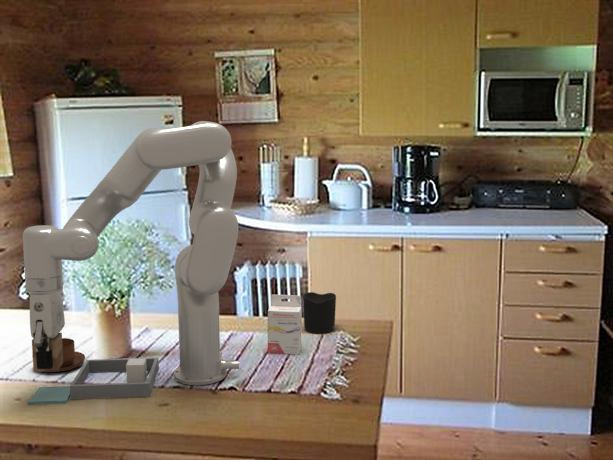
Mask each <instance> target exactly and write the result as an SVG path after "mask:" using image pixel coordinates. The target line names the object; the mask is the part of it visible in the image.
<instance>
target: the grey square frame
mask: <svg viewBox="0 0 613 460" xmlns="http://www.w3.org/2000/svg"><path fill="white" fill-rule="evenodd" d="M129 359H146V366H147V372H149V374H148V375H147V380H146V382H139V383H127V382H121V383H120V382H118V383H91V384H90V383H88V384H87V383H86V384H85V381H86V379H87V377H88V376H89V374H90V373H92V374H93V373H95V374H96V373H115V372H116V373H117V372H122V373H124V372H125V373H126V364H127V362H128V360H129ZM159 361H160V359H159V357H132V358H107V359H106V358H104V359H103V358H101V359H98V358H97V359H85V360H84V362H83V363H82V366H81V368H80V369H79V371H78V372H77V374H76V376H75V377H74V378H73V381H71V384H70V385H69V386H70V400H82V399H83V400H84V399H89V400H90V399H110V398H111V399H113V398H114V399H115V398H116V399H117V398H137V397H138V398H139V397H140V398H141V397H151V394H152V392H153V389H154V385H155V383H156V379H157V376H158V374H159V373H158V372H159V370H160V366H159V363H160V362H159Z"/></svg>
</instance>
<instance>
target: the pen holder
mask: <svg viewBox="0 0 613 460" xmlns="http://www.w3.org/2000/svg"><path fill="white" fill-rule="evenodd" d="M302 300H303V301H302V303H303V307H302V308H303V325H304V326H303V327H304V330H305V332H308V333H312V334H318V335H321V334H329V333H331V332H333V331H334V329H335V322H336V308H337V307H336V305H337V294H335V293H333V292H327V293H322V294H321V293H317V292H311V291H310V292H305V293H304V294H303V295H302Z"/></svg>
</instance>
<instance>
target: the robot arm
mask: <svg viewBox="0 0 613 460" xmlns="http://www.w3.org/2000/svg"><path fill="white" fill-rule="evenodd" d="M193 166H198V167H199V175H198V176H199V177H198V182H197V187H196V191H195V196H194V200H193V204H192V207H191V210H190V214H189V218H188V227H189V229H190V232H191V233H192V235H193V239H192V244H189V245H187V246H185V247H184V248H183V249H181V251H179V253H178V255H177V257H176V259H175V262H174V263H175V264H174V274H175V276H174V277H175V285H176V286H175V287H176V292H177V294H176V295H177V312H178V313H177V317H178V318H177V319H178V321H177V322H178V344H179V345H178V346H179V349H178V350H179V366H178V367H176V368H175V369H174V370H173V378H174V380H175V381H176V382H178V383H180V384H184V385H188V386H204V385H211V384H214V383H218V382H220V381H222V380H223V379H225V378H226V377H227V375H228V370H240V360H235V358H234V357H233V358H225V357H223V352H221V342H220V341H221V340H220V339H221V338H220V337H221V336H220V335H221V333H220V300H219V299H220V298H219V296H220V295H219V291H221V289H222V288H223V287H224V285H225V284H226V281H227V280H228V277H229V274H230V271H231V270H230V269H231V266H232V262H233V259H234V254H235V251H236V246H237V242H238V238H239V237H238V236H239V221H238V218H237V216H236V214H235V213H234V212H233V210H232V205H233V200H234V196H235V189H236V186H237V185H236V184H237V177H238V168H237V167H238V166H237V162H236V158H235V154H234V152H233V149H232V137H231V133H230V132H229V130H228V129H227V128H226V127H225V126H224V125H222V124H220V123H217V122H214V121H208V120H207V121H206V120H201V121H200V120H199V121H196V122H194V123H193V124H191V125H187V126H181V127H180V126H179V127H173V128H172V127H171V128H156V127H155V128H152V127H151V128H146V129H145V130H143V131H141V132H140V133H139V134H138V135H137V136H136V137H135V138H134V140H133V141H132V143H130V145H129V146H128V147H127V149H126V150H125V151H124V152H123V154H122V155H121V156H120V157H119V159H118V160H117V161H116V162H115V164H114V165H113V166H112V167H111V169H110V170H109V171H108V172H107V174H106V175H104V177H103V178H102V180H101V181H99V183H98V184H97V185H96V186H95V188H94V189H93V190H92V191H91V193H90V194H89V195H87V197H86V198H85V199H84V200H83V202H82V203H81V204H80V205H79V206H78V207H77V209H76V210H75V211H74V213H73V214H72V215H71V217H70V218H69V219H68V220H67V222H66V223H65V225H63V228H58V227H57V226H54V225H50V224H49V225H48V224H47V225H44V224H43V225H42V224H41V225H34V226H33V225H32V226H28V227H27V228H25V229H24V231H23V232H22V247H23V262H24V263H23V264H24V266H23V267H24V279H25V292H26V293H27V294H29V328H30V329H29V330H30V336H31V338H32V339H33V338H34V344H35V345H36V360H37V368H38V369H51V368H52V367H53V359H52V350H50V342H51V341H50V340H51V338H55V337H56V336H57V335H58V334H59V333H61V332H62V330H63V329H64V327H65V324H66V322H65V321H66V320H65V319H66V318H65V311H64V310H65V309H64V300H63V294H62V290H64V281H63V279H64V278H63V260H64V261H72V262H73V261H74V262H82V261H84V262H85V261H86V260H90V259H91V258H92V257H94V256H95V255H96V253H97V252H98V250H99V245H100V243H99V241H100V240H99V236H100V235H101V234H102V232H103V231H104V230H105V228H106V227H107V226H108V225H109V224H110V223H111V221H112V220H113V219H114V218H115V217H117V215H118V214H120V213H121V212H123V210H125V209H128V208H130V207H132V206H133V205H135V203H137V201H138V200H139V199H140V198H141V196H142V195H143V194H144V192H145V191H146V190H147V188H148V187H149V186H150V184H151V183H152V182H153V181H154V179H156V177H157V176H158V175H159V174H160V172H161V171H164V170H170V169H180V168H181V169H182V168H186V167H193ZM43 334H46V335H47V337H42V336H43ZM43 340H47V343H45V342H43Z"/></svg>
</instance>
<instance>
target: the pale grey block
mask: <svg viewBox="0 0 613 460" xmlns="http://www.w3.org/2000/svg"><path fill="white" fill-rule="evenodd" d="M125 374H126V383H139V382H147V379H148V371H147V366H146V359H129V360H128V362H127V364H126V372H125Z"/></svg>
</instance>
